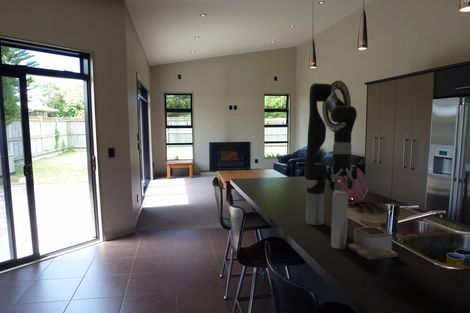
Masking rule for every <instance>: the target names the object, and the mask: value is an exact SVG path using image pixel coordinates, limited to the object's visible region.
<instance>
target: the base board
mask: <svg viewBox="0 0 470 313" xmlns="http://www.w3.org/2000/svg"><path fill="white" fill-rule="evenodd" d="M353 244H354V242H353V243H347V247H348V248H349V249H350V250H352V251H354V252H355V253H357V254H358V255H361V257H363V258H365V259H366V260H368V261H369V260H376V259H386V258H394V257H398V255H399V253H397V252H396V251H394V250H392V249H391V252H389V253H380V254H371V255H369V254H367V253H366V252H364V251H362V250H361V249H359V248H357V247H356V246H354V245H353Z"/></svg>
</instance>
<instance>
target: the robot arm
mask: <svg viewBox="0 0 470 313" xmlns="http://www.w3.org/2000/svg"><path fill="white" fill-rule="evenodd" d="M319 102H320V103H323V102H324V104H325V107H326V109H327V110H328V112H329V113H330V120H331V121H332V122H334V123H336V124H339V123H345V124H344V126H343V127H337V128H336V129H335V130H334V132H333V135H334V136H333V145H332V166H330V165H325V164H324V163H322V162H315V158H316V155H317V153H318V151H320V149H321V148H322V146H323V145H324V143H325V141H326V138H327V137H326V135H327V126H326V123H325V122H324V120H323V118H322V116H321V114H320V112H319V108H318V103H319ZM357 113H358V112H357V109H356V107H354V106H353V105H345V103H344V102H343V101H342V100H341V99H340V98H339V97H338V94H337V93H336V90H335V88H334V87H333V86H332V85H331V84H330V83H317V82H316V83H312V84H311V85H310V88H309V113H308V114H309V116H308V126H307V128H308V129H307V142H306V143H307V144H306V146H307V148H306V156H305V162H304V163H305V164H304V172H303V173H304V177H305V180H306V181H315V182H314V183H312V184H310V185H308V186H307V187H306V203H305V222H306V224H308V225H310V226H311V225H313V226H321V225H323V224H324V210H325V209H324V208H325V207H324V205H325V188H326V181H328V188H329V190H330V191H335V180H337V179H336V178H337V177H338V176H342V177H344V176H346V177H347V179H348V180H347V181H346V182H347V189H351V190H352V184H353V180H354V179H357V167H358V166H357V165H353V164H352V133H353V128H354V125H355V122H356V119H357V117H358V116H357V115H358V114H357ZM314 162H315V163H314ZM350 165H351V166H350ZM350 169H351V174H350V172H349V171H350ZM332 170H333V172H332Z"/></svg>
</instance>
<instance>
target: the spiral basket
mask: <svg viewBox="0 0 470 313" xmlns="http://www.w3.org/2000/svg"><path fill="white" fill-rule="evenodd" d="M350 166H352V164H350ZM349 172H350V174H351V169H350V171H349ZM331 173H333V170H332V171H331ZM335 180H336V181H337V182H338V184H339V186H340V187H341V188H342V191H346V192H348V200H350V201H351V202H348V204H349V205H354V204H355V203H356V204H358V203H359V202H360V201H362V200H363V199H364V198H365V196H366V195H367V193H368V190H369V180H368V177H366V175H365V174H364V173H363V171H362V170H361V169H360V168H358V166H357V179H354V180H353V184H352V188H351V189H347V180H348V179H347V177H346V176H338V177H337V178H336V179H335ZM363 192H364V193H363ZM357 197H358V198H357ZM330 198H331V200H332V201H333V196H330ZM352 201H354V202H352Z"/></svg>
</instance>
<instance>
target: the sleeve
mask: <svg viewBox="0 0 470 313" xmlns="http://www.w3.org/2000/svg"><path fill="white" fill-rule="evenodd" d="M353 243H354V244H353V245H354V246H356V247H357V248H359V249H361V250H362V251H364V252H366V253H367V254H369V255H371V254H380V253H389V252H391V250H392V245H393V244H392V243H393V233H390V232H389V231H386V230H385V229H382V228H380V227H378V226H375V225H373V226H362V227H361V226H360V227H353Z"/></svg>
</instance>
